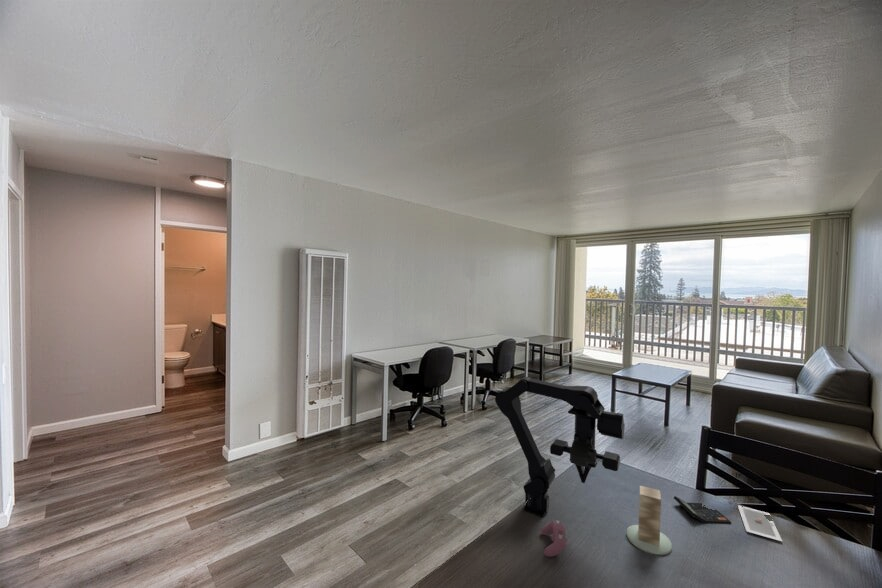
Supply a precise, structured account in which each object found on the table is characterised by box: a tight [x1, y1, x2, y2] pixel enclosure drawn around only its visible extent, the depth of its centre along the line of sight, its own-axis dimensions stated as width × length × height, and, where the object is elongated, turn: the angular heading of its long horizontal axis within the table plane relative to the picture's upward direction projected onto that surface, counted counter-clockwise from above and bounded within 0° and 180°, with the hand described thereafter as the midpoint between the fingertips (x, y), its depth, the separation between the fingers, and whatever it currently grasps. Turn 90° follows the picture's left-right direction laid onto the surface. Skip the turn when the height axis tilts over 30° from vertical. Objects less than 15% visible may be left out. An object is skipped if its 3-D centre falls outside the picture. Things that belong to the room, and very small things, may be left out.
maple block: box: [637, 485, 662, 546], centre depth 102 cm, size 5×5×13 cm
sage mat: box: [626, 524, 673, 556], centre depth 102 cm, size 11×11×1 cm
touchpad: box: [737, 505, 783, 542], centre depth 111 cm, size 8×15×2 cm, turn 148°
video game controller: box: [540, 519, 568, 558], centre depth 99 cm, size 10×5×7 cm, turn 170°
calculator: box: [673, 495, 732, 525], centre depth 115 cm, size 9×12×3 cm
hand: (583, 482), depth 108 cm, fingers closed
